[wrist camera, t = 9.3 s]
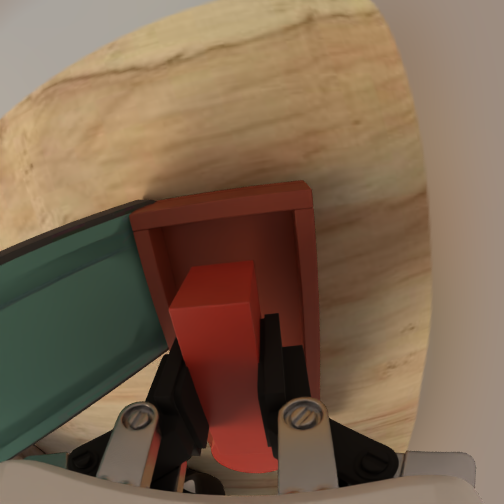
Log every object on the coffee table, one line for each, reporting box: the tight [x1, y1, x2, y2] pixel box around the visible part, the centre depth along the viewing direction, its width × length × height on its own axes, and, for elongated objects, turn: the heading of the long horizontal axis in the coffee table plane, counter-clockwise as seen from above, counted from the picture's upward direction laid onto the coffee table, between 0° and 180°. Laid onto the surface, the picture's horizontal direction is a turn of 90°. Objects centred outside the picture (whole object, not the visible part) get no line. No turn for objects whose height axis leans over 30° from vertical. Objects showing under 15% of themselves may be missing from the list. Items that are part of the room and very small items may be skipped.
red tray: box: [129, 180, 320, 448], centre depth 15 cm, size 15×7×2 cm, turn 8°
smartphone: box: [0, 200, 169, 463], centre depth 9 cm, size 7×1×15 cm
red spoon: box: [169, 260, 278, 473], centre depth 11 cm, size 11×4×3 cm, turn 8°
